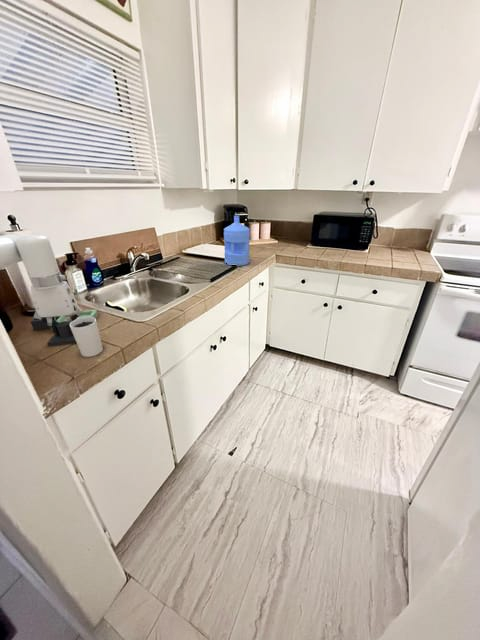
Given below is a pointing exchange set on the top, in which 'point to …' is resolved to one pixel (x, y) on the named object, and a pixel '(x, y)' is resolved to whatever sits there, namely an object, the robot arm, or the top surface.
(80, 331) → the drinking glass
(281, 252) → the top surface
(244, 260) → the water jug
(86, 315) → the green square tray
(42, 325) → the dark grey square bin
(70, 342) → the black stud pad
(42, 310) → the robot arm
